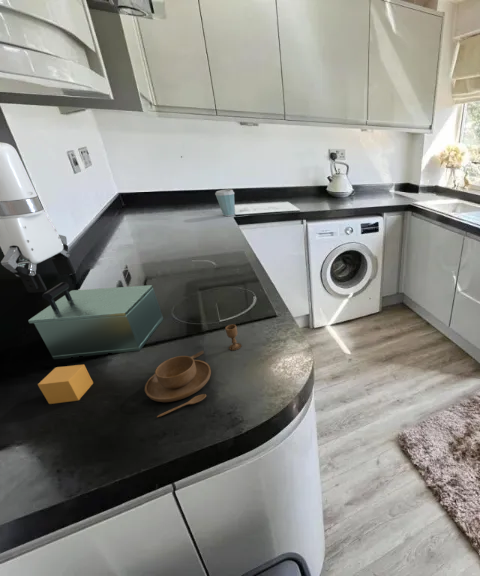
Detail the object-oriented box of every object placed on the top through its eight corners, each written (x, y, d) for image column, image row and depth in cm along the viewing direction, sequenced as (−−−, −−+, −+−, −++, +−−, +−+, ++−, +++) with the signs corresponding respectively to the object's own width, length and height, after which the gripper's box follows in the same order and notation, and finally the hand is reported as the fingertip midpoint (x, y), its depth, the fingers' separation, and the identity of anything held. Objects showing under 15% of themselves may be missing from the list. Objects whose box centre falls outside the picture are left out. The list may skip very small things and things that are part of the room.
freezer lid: (29, 323, 70) (18, 303, 68) (72, 293, 83) (64, 275, 81) (126, 315, 74) (118, 296, 72) (153, 287, 87) (147, 270, 85)
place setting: (144, 371, 72) (136, 350, 69) (239, 341, 82) (234, 321, 80) (150, 424, 59) (140, 400, 56) (260, 380, 70) (256, 358, 67)
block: (49, 404, 63) (37, 384, 61) (65, 386, 67) (55, 367, 65) (78, 400, 64) (68, 381, 62) (93, 382, 68) (84, 364, 66)
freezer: (53, 359, 75) (33, 323, 70) (91, 325, 88) (76, 293, 83) (139, 350, 78) (126, 315, 74) (163, 319, 91) (153, 287, 87)
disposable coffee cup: (224, 218, 193) (219, 192, 187) (216, 215, 200) (211, 190, 193) (241, 215, 201) (237, 190, 194) (232, 212, 207) (228, 188, 200)
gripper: (26, 200, 74) (59, 269, 81) (-46, 218, 58) (3, 301, 66) (65, 198, 75) (94, 266, 83) (3, 216, 60) (46, 297, 67)
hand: (53, 282), depth 74 cm, fingers open, 9 cm apart
